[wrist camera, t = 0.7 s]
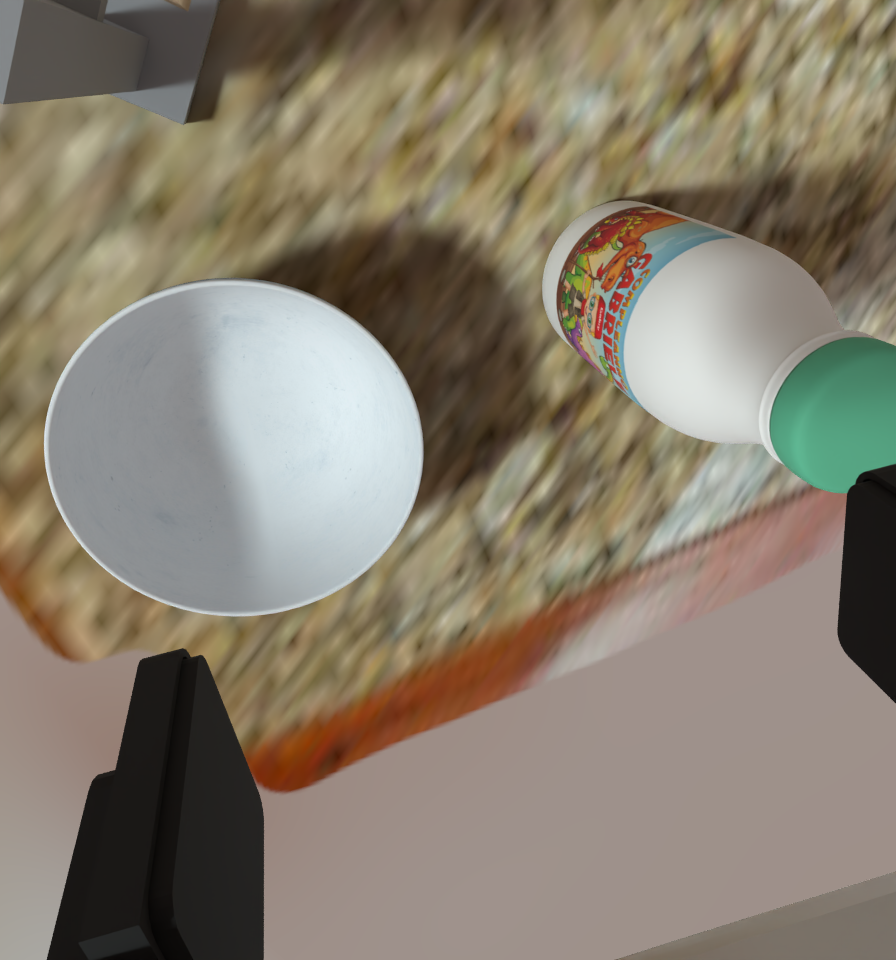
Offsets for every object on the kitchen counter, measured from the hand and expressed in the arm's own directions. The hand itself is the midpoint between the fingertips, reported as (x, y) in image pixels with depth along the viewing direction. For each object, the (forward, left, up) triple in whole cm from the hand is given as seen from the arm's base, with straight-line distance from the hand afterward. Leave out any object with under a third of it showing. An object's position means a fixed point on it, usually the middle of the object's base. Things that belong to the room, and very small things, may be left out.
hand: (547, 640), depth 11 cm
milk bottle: (-3, +13, -30) cm, 33 cm away
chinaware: (+9, -2, -30) cm, 32 cm away
